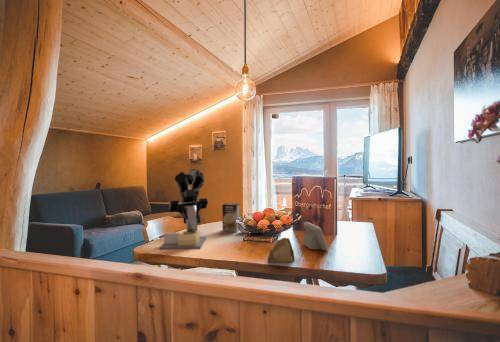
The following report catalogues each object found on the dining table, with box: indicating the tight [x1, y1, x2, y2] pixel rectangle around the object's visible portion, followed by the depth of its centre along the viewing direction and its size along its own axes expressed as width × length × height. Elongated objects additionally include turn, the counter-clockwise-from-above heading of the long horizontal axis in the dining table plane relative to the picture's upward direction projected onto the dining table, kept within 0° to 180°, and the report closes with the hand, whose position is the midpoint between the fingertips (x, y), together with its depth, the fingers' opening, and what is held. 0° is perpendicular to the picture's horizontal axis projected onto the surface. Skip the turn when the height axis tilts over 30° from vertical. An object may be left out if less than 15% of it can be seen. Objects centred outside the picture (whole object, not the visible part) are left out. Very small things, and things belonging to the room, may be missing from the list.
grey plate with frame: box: [159, 230, 207, 250], centre depth 142 cm, size 19×19×6 cm
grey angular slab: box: [302, 221, 329, 251], centre depth 133 cm, size 16×9×11 cm, turn 0°
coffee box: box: [222, 202, 240, 233], centre depth 168 cm, size 9×6×16 cm
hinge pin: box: [185, 205, 198, 233], centre depth 139 cm, size 5×5×12 cm
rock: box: [267, 237, 295, 263], centre depth 114 cm, size 11×9×10 cm
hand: (192, 218), depth 137 cm, fingers closed on hinge pin, 5 cm apart
